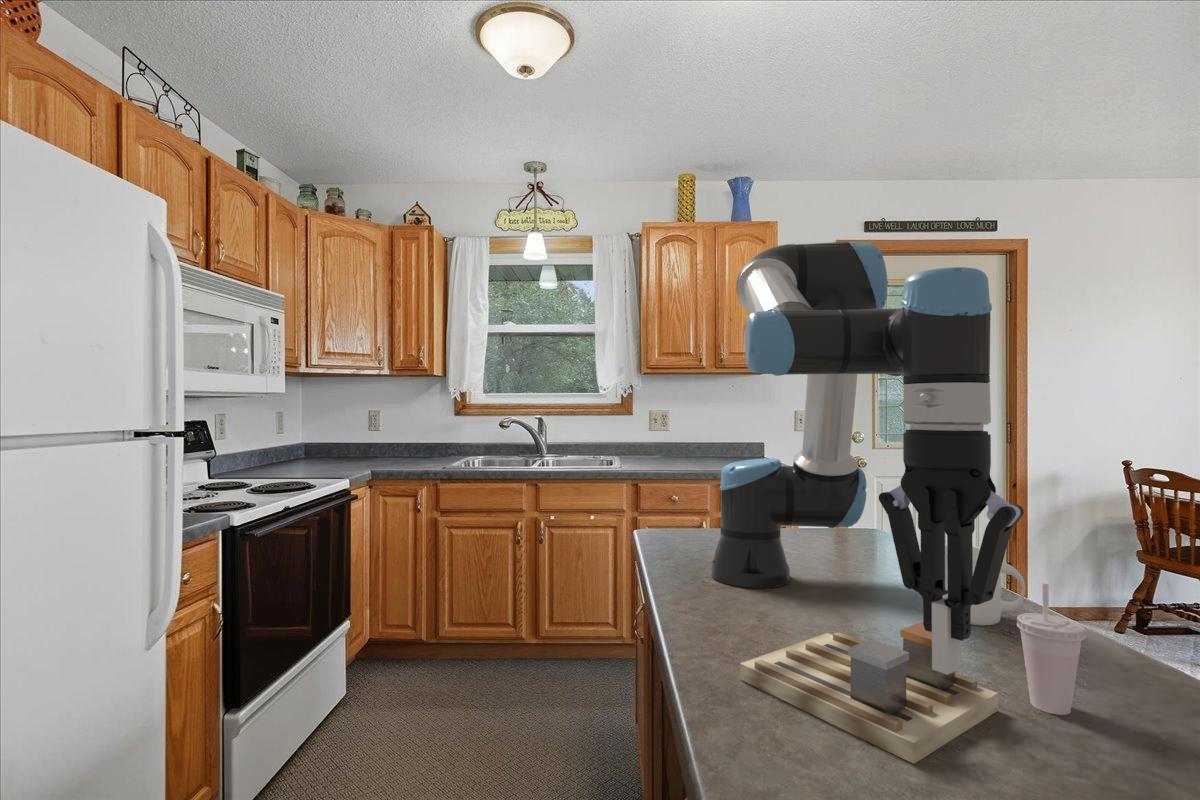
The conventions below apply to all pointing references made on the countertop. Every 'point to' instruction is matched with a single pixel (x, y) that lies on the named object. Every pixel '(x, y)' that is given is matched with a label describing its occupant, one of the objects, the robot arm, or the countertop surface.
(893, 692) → the fader
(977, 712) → the beige flat board
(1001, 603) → the mug
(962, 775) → the countertop surface
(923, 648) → the block
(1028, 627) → the smoothie
